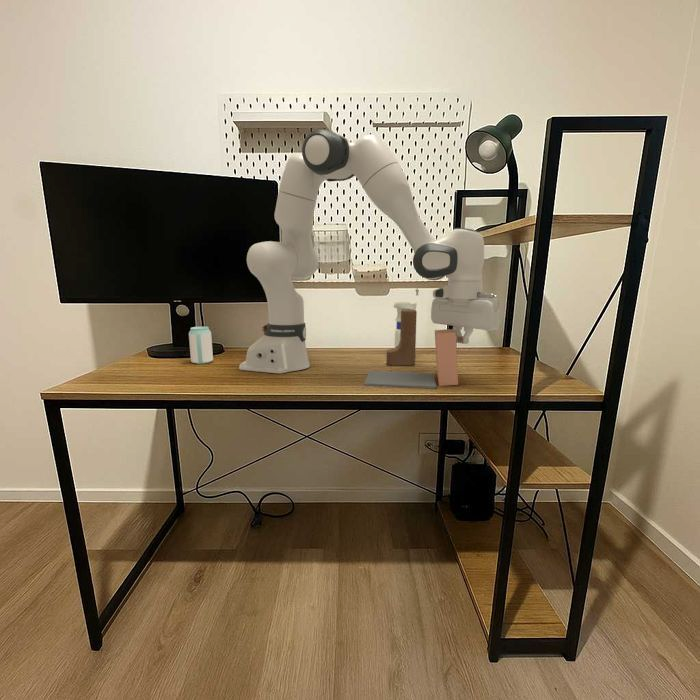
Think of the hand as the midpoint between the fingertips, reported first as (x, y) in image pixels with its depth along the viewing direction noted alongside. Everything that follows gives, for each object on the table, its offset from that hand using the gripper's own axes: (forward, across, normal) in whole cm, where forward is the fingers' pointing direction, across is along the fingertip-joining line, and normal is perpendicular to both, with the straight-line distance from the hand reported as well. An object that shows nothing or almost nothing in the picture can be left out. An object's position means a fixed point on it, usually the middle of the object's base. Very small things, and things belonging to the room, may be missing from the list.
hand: (462, 343), depth 107 cm
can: (+11, +68, +51) cm, 86 cm away
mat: (+11, +11, +12) cm, 20 cm away
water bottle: (+11, +35, -12) cm, 38 cm away
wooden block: (+11, +26, -2) cm, 28 cm away
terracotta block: (+11, +2, +3) cm, 11 cm away
